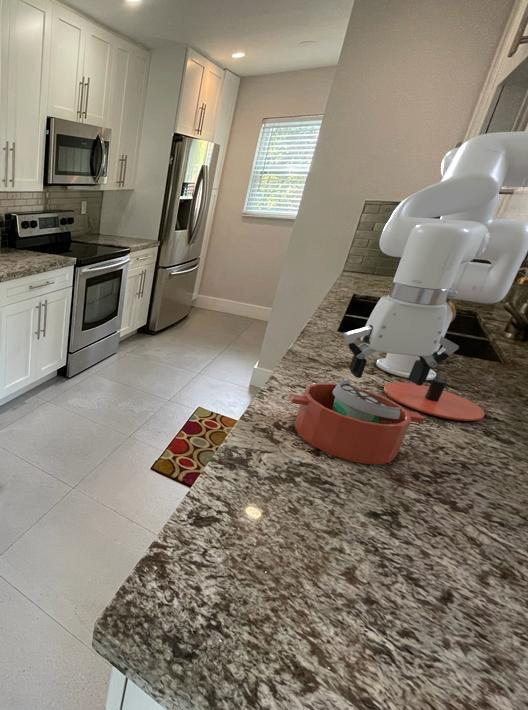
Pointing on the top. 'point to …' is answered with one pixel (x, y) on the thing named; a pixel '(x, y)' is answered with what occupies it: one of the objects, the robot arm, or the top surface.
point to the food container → (362, 405)
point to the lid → (434, 400)
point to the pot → (349, 427)
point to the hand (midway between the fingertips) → (384, 378)
